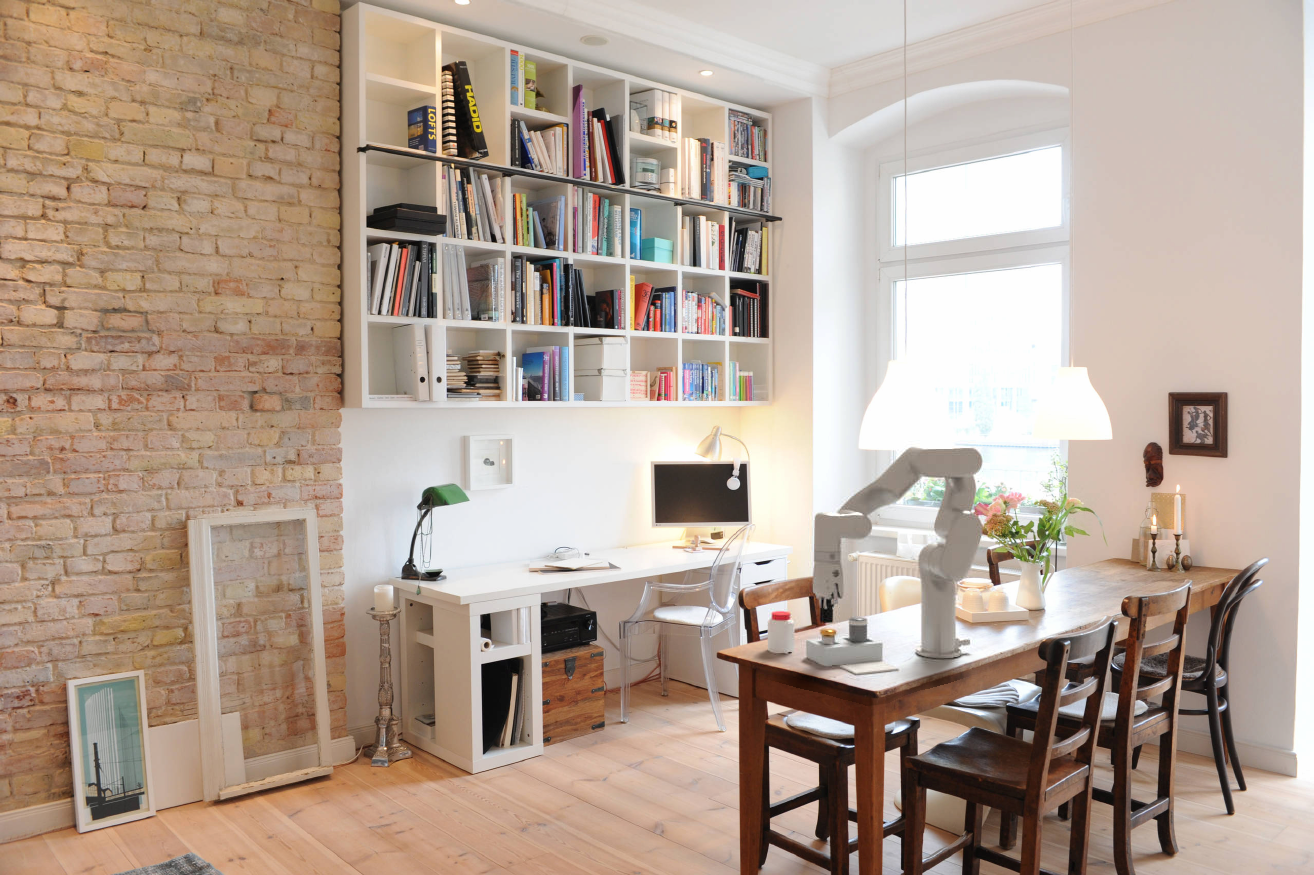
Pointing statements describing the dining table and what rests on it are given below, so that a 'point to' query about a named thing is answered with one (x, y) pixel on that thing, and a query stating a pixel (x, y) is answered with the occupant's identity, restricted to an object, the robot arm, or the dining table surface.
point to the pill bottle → (781, 633)
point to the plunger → (828, 636)
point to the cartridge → (857, 630)
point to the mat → (869, 667)
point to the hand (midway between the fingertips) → (826, 622)
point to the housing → (844, 651)
